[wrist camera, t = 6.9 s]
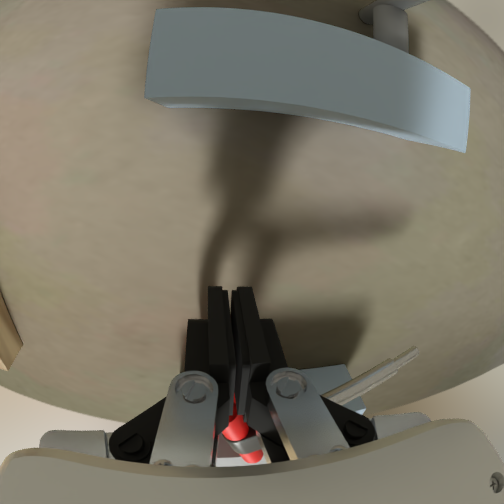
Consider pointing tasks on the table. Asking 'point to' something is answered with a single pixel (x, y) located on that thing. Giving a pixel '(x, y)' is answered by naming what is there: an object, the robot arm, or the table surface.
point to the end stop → (7, 338)
